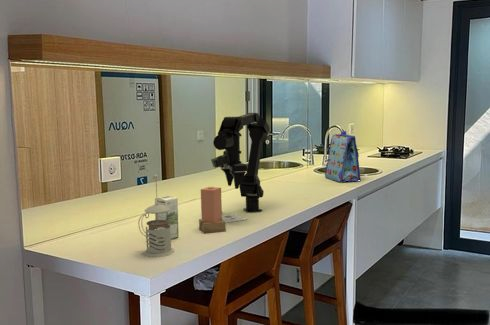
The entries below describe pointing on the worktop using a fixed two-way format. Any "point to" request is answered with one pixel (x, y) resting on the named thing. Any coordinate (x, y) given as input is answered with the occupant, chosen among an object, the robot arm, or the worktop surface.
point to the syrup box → (169, 214)
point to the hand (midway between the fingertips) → (233, 187)
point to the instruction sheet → (232, 218)
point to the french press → (157, 231)
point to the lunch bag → (343, 159)
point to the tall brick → (211, 204)
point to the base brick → (212, 226)
